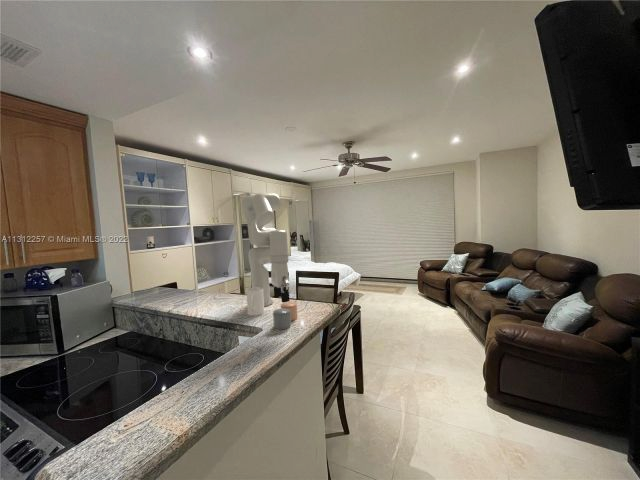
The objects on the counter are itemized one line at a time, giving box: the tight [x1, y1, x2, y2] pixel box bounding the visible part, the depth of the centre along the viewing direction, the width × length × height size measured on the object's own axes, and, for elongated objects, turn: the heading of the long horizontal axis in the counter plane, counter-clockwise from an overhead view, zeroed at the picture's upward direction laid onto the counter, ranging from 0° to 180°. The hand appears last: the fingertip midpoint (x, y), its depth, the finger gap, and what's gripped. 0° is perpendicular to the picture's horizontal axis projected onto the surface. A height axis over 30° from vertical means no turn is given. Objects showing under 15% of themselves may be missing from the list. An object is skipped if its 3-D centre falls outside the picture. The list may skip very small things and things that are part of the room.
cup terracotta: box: [280, 301, 298, 322], centre depth 118 cm, size 7×7×6 cm
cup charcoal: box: [272, 308, 292, 331], centre depth 109 cm, size 7×7×6 cm
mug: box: [246, 287, 266, 317], centre depth 125 cm, size 12×8×12 cm
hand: (281, 299), depth 108 cm, fingers open, 9 cm apart
